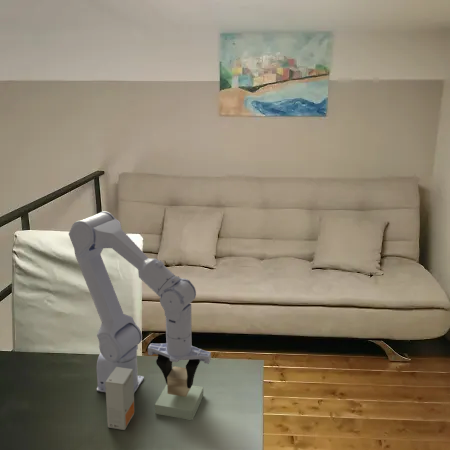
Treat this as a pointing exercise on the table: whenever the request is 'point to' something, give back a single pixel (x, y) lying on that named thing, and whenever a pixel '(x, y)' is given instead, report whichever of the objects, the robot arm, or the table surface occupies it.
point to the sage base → (179, 403)
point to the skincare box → (120, 398)
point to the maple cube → (177, 382)
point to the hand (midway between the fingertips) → (179, 384)
